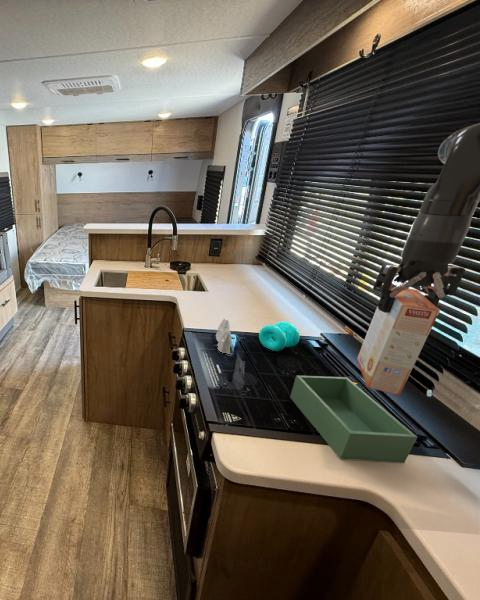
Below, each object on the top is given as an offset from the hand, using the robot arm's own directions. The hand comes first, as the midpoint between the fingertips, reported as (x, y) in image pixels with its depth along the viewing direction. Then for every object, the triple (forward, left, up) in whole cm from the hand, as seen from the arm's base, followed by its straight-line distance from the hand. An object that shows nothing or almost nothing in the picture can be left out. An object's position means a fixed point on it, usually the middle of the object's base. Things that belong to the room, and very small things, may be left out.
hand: (404, 311), depth 67 cm
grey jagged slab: (+39, -80, -33) cm, 95 cm away
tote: (+4, -1, -33) cm, 33 cm away
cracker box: (0, 0, -17) cm, 17 cm away
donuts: (+1, -41, -33) cm, 53 cm away
